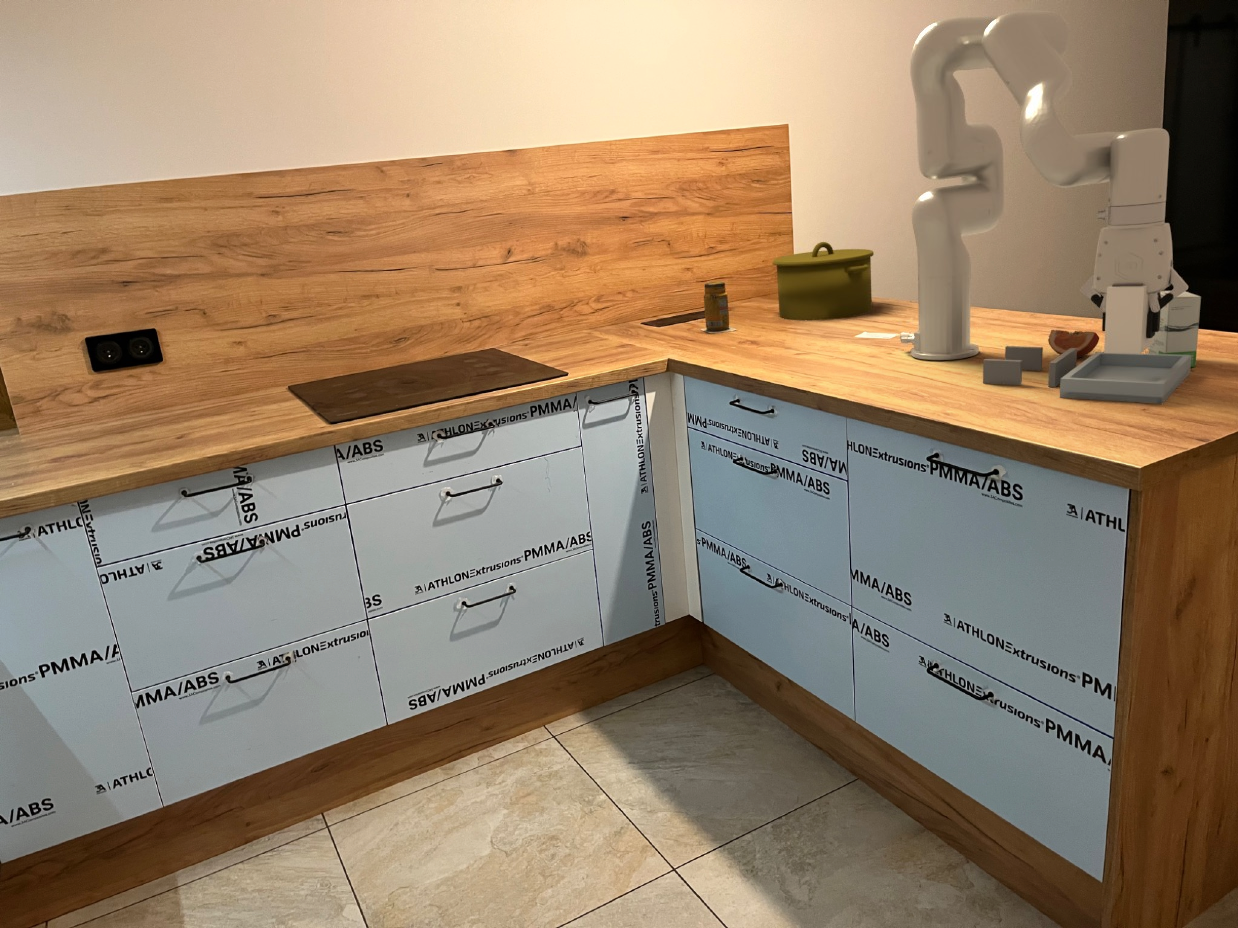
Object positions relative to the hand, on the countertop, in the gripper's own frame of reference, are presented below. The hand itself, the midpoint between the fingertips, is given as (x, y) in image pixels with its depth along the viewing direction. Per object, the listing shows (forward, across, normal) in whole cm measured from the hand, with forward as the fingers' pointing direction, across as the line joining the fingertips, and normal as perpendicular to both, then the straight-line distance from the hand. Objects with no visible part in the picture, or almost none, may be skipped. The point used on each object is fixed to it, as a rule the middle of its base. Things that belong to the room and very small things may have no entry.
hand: (1130, 335), depth 143 cm
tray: (+8, 0, 0) cm, 8 cm away
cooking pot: (+7, -86, +62) cm, 107 cm away
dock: (+8, -16, +2) cm, 18 cm away
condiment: (+7, -102, +35) cm, 108 cm away
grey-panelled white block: (+2, 0, 0) cm, 2 cm away
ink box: (+8, +3, +17) cm, 19 cm away
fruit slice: (+8, -13, +19) cm, 25 cm away
